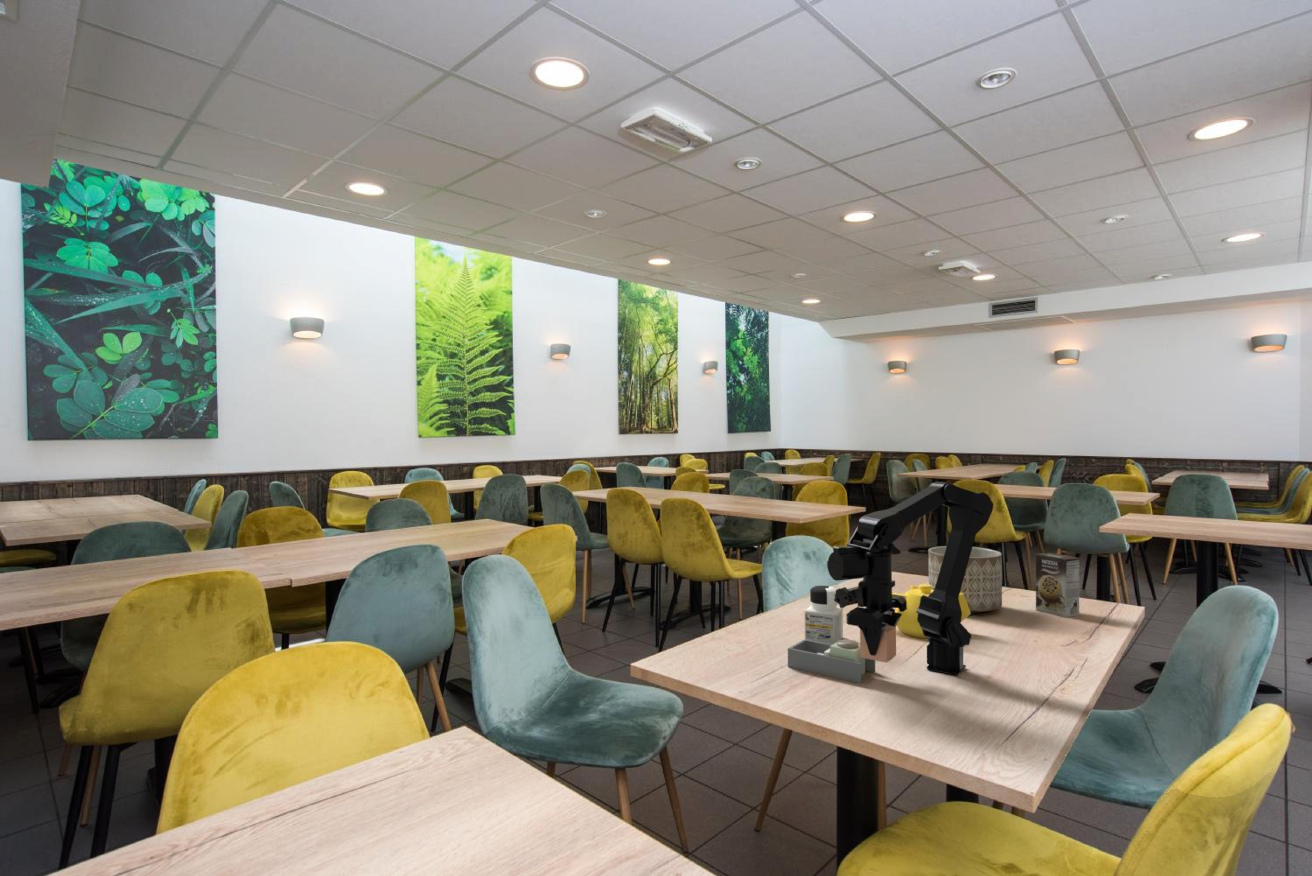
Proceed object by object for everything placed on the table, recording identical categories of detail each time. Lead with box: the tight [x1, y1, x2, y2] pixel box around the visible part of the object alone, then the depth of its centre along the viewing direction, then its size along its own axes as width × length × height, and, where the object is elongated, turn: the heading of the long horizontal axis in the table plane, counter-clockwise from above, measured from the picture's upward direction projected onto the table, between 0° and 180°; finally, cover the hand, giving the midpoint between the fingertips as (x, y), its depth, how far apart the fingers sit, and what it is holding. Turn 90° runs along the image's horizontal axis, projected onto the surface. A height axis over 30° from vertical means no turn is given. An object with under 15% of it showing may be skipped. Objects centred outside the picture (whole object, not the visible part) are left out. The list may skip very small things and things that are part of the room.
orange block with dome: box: [859, 622, 897, 663], centre depth 140 cm, size 6×6×7 cm
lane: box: [787, 638, 876, 684], centre depth 146 cm, size 16×8×4 cm, turn 52°
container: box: [804, 585, 844, 645], centre depth 167 cm, size 8×8×13 cm
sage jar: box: [830, 639, 866, 675], centre depth 144 cm, size 6×6×7 cm
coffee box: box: [1035, 552, 1081, 618], centre depth 190 cm, size 9×6×16 cm
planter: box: [928, 545, 1003, 614], centre depth 196 cm, size 19×19×16 cm
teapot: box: [892, 583, 972, 639], centre depth 173 cm, size 17×17×12 cm
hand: (878, 651), depth 140 cm, fingers closed on orange block with dome, 5 cm apart
